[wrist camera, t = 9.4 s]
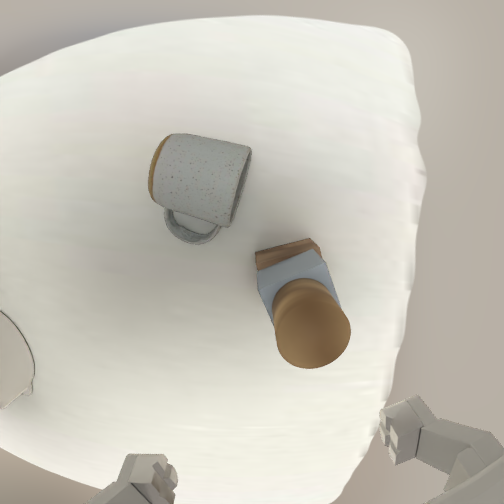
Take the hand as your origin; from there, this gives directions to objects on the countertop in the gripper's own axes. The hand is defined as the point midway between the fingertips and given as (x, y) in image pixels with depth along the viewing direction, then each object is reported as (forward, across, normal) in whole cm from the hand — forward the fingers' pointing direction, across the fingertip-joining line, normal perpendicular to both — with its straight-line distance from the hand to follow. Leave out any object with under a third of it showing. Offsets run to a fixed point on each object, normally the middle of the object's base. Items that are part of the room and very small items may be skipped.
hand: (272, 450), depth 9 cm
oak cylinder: (+14, -3, +1) cm, 15 cm away
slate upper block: (+19, -4, +1) cm, 20 cm away
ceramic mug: (+25, +3, -10) cm, 26 cm away
